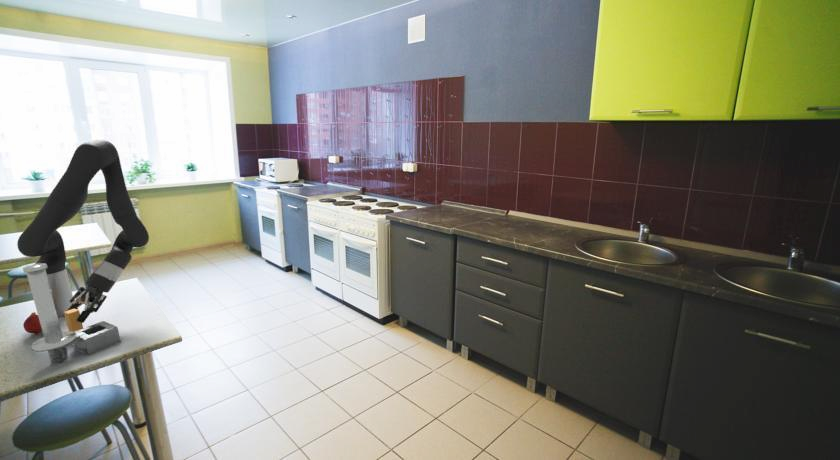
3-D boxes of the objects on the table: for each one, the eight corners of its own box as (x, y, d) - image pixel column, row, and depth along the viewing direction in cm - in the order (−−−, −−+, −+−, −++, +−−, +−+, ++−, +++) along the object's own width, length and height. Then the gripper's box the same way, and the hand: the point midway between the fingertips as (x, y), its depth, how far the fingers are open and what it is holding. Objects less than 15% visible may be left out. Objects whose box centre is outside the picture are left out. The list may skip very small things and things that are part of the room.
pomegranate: (35, 339, 133) (29, 317, 131) (21, 337, 134) (15, 316, 132) (53, 330, 138) (48, 309, 136) (40, 329, 140) (35, 308, 138)
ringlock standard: (31, 364, 119) (3, 268, 111) (106, 335, 135) (86, 250, 128) (46, 373, 114) (18, 274, 106) (121, 342, 131) (102, 254, 123)
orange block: (69, 335, 135) (63, 311, 133) (80, 332, 137) (74, 308, 135) (74, 338, 133) (68, 313, 131) (84, 334, 136) (78, 310, 134)
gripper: (84, 268, 141) (51, 311, 134) (105, 275, 135) (71, 319, 128) (104, 277, 147) (74, 318, 140) (125, 284, 140) (94, 327, 134)
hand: (73, 319), depth 134 cm, fingers open, 8 cm apart
